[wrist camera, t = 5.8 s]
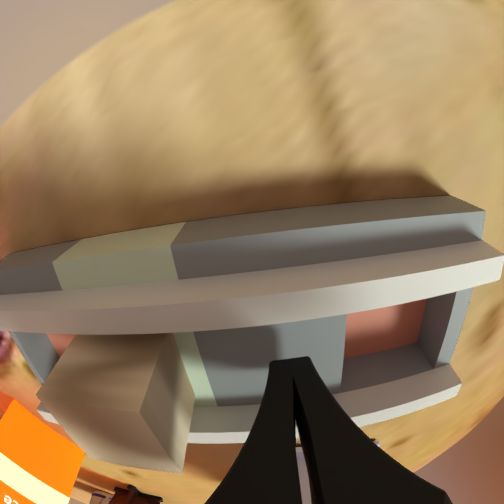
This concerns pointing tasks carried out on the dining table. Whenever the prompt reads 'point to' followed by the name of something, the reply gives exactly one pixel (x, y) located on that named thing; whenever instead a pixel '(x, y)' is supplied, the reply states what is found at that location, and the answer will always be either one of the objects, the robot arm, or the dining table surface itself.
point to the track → (270, 302)
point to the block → (123, 399)
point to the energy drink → (100, 497)
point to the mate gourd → (133, 497)
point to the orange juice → (35, 460)
